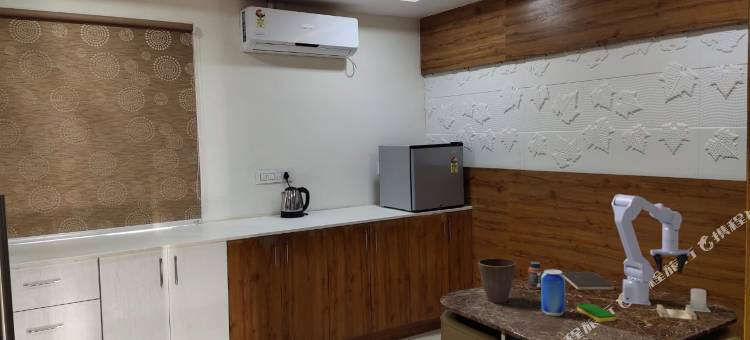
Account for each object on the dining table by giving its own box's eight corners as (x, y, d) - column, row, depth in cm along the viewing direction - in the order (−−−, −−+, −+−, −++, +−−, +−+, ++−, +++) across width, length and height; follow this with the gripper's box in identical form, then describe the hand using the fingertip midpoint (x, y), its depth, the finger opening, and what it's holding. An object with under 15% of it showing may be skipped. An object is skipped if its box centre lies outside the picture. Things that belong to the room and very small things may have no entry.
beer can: (564, 310, 204) (564, 269, 203) (565, 317, 196) (565, 275, 195) (541, 308, 206) (541, 268, 205) (541, 315, 198) (541, 273, 197)
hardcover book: (576, 291, 231) (576, 285, 230) (561, 277, 253) (561, 272, 253) (614, 290, 230) (614, 285, 229) (595, 277, 252) (595, 272, 252)
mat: (689, 311, 199) (689, 310, 199) (685, 306, 206) (685, 304, 206) (711, 313, 197) (711, 312, 197) (706, 307, 204) (706, 306, 204)
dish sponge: (593, 309, 205) (593, 303, 205) (615, 321, 192) (615, 315, 192) (576, 311, 204) (576, 305, 204) (598, 323, 190) (598, 316, 190)
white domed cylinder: (691, 309, 200) (692, 291, 200) (688, 304, 206) (688, 286, 206) (707, 311, 198) (707, 292, 198) (703, 305, 204) (703, 288, 204)
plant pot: (475, 304, 214) (475, 264, 213) (482, 293, 227) (482, 257, 227) (513, 307, 208) (513, 267, 207) (518, 297, 222) (518, 259, 221)
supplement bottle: (543, 290, 231) (543, 264, 231) (529, 289, 232) (528, 264, 232) (541, 286, 237) (541, 261, 236) (527, 285, 238) (527, 260, 238)
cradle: (660, 317, 193) (660, 312, 193) (655, 309, 203) (655, 304, 203) (697, 321, 189) (698, 315, 189) (691, 312, 199) (691, 307, 199)
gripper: (655, 241, 214) (655, 274, 215) (693, 241, 213) (693, 275, 213) (648, 238, 221) (648, 270, 222) (685, 238, 220) (685, 270, 220)
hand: (669, 272), depth 218 cm, fingers open, 7 cm apart
